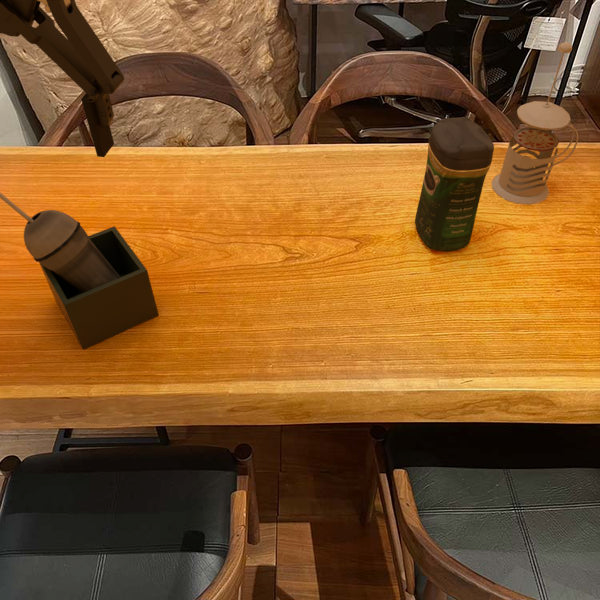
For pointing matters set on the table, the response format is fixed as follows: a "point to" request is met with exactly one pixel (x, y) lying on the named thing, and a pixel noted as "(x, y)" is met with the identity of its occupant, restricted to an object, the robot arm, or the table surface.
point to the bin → (107, 294)
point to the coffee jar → (453, 183)
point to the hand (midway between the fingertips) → (47, 143)
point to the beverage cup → (65, 249)
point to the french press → (520, 169)
